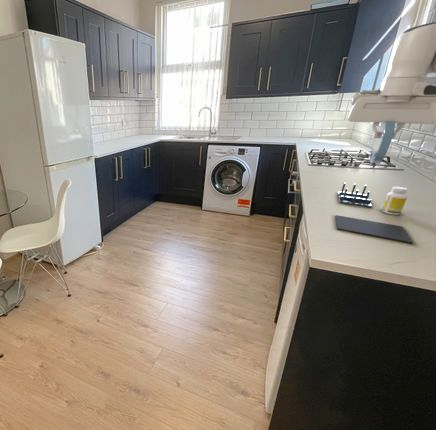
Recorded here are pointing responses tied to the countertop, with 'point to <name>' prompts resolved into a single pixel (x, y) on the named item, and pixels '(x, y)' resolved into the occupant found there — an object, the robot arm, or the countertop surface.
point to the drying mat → (372, 229)
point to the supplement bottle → (395, 201)
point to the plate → (382, 142)
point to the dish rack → (354, 197)
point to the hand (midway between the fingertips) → (383, 138)
